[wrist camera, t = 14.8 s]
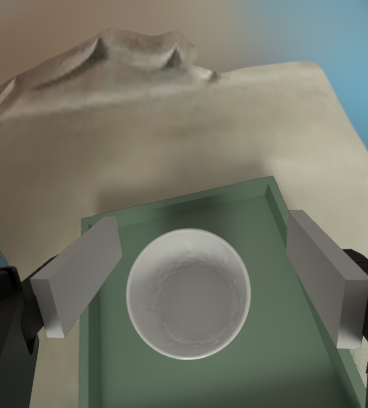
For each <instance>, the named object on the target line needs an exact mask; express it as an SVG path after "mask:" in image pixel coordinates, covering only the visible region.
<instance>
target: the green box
mask: <svg viewBox="0 0 368 408" xmlns="http://www.w3.org/2000/svg"><path fill="white" fill-rule="evenodd" d="M111 216H116V221H117V227H118V232H119V238H120V244H121V250H122V257H121V259H120V260H119V262H118V263H117V264H116V266H115V267H114V269H113V270H112V272H111V273H110V274H109V276H108V277H107V279H106V280H105V282H104V283H103V284H102V286H101V287H100V289H99V290H98V291H97V293H96V294H95V296H94V297H93V299H92V300H91V301H90V303H89V304H88V306H87V307H86V309H85V310H84V311H83V313H82V314H81V316H80V346H79V408H365V403H366V388H365V386H364V384H363V381H362V379H361V377H360V374H359V372H358V370H357V367H356V365H355V363H354V361H353V358H352V356H351V354H350V351H349V349H344V348H336V346H335V344H334V342H333V340H332V339H331V337H330V335H329V333H328V331H327V329H326V327H325V326H324V324H323V322H322V320H321V318H320V316H319V314H318V312H317V311H316V309H315V307H314V305H313V303H312V301H311V299H310V298H309V296H308V294H307V292H306V290H305V288H304V286H303V284H302V283H301V281H300V279H299V277H298V275H297V273H296V271H295V270H294V268H293V266H292V264H291V262H290V260H289V258H288V257H287V255H286V246H287V224H288V209H287V206H286V204H285V202H284V200H283V197H282V195H281V193H280V190H279V188H278V186H277V183H276V181H275V179H274V177H273V175H272V176H268V177H264V178H259V179H255V180H250V181H246V182H241V183H237V184H233V185H228V186H224V187H219V188H215V189H210V190H206V191H202V192H197V193H193V194H188V195H184V196H180V197H175V198H171V199H166V200H162V201H157V202H153V203H149V204H144V205H140V206H135V207H131V208H126V209H122V210H118V211H113V212H109V213H104V214H100V215H96V216H91V217H87V218H82V220H81V236H82V235H83V234H84V233H85V232H86V231H88V230H89V229H90V228H91V227H92V226H94V225H95V224H96V223H97V222H98V221H100V220H101V219H102V218H103V217H111ZM185 228H193V229H201V230H205V231H208V232H211V233H213V234H215V235H217V236H219V237H221V238H222V239H224V240H225V241H226V242H228V243H229V244H230V245H231V246H232V247H233V248H234V249H235V250H236V252H237V253H238V254H239V256H240V257H241V259H242V261H243V262H244V264H245V267H246V269H247V272H248V275H249V280H250V286H251V300H250V307H249V311H248V315H247V317H246V320H245V322H244V324H243V326H242V328H241V330H240V331H239V333H238V334H237V335H236V337H235V338H234V339H233V340H232V341H231V342H230V343H229V344H228V345H227V346H225V347H224V348H223V349H221V350H220V351H218V352H216V353H214V354H212V355H210V356H207V357H204V358H200V359H193V360H182V359H175V358H171V357H168V356H166V355H163V354H161V353H159V352H157V351H156V350H154V349H153V348H152V347H150V346H149V345H148V344H147V343H146V342H145V341H144V340H143V339H142V338H141V337H140V335H139V334H138V333H137V331H136V330H135V328H134V326H133V324H132V322H131V319H130V316H129V313H128V309H127V303H126V287H127V281H128V277H129V273H130V270H131V268H132V266H133V264H134V262H135V260H136V258H137V257H138V255H139V254H140V253H141V251H142V250H143V249H144V248H145V247H146V246H147V245H148V244H149V243H150V242H152V241H153V240H154V239H156V238H157V237H159V236H161V235H163V234H165V233H167V232H170V231H173V230H178V229H185Z"/></svg>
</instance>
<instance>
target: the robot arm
mask: <svg viewBox="0 0 368 408" xmlns="http://www.w3.org/2000/svg"><path fill="white" fill-rule="evenodd" d="M286 255H287V257H288V258H289V260H290V262H291V264H292V266H293V268H294V270H295V271H296V273H297V275H298V277H299V279H300V281H301V283H302V284H303V286H304V288H305V290H306V292H307V294H308V296H309V298H310V299H311V301H312V303H313V305H314V307H315V309H316V311H317V312H318V314H319V316H320V318H321V320H322V322H323V324H324V326H325V327H326V329H327V331H328V333H329V335H330V337H331V339H332V340H333V342H334V344H335V346H336V348H344V349H361V344H362V338H363V335H364V337H365V338H366V340H367V341H368V259H367V258H366V257H365V256H364V255H362V254H360V253H358V252H356V251H354V250H352V249H341V248H340V247H339V246H338V245H337V244H336V243H335V242H334V241H333V240H332V239H331V238H330V237H329V236H328V235H327V234H326V233H325V232H324V231H323V230H322V229H321V228H320V227H319V226H318V225H317V224H316V223H315V222H314V221H313V220H312V219H311V218H310V217H309V216H308V215H307V214H306V213H305V212H304V211H303V210H288V224H287V246H286ZM121 257H122V250H121V244H120V238H119V232H118V227H117V221H116V216H111V217H103V218H102V219H101V220H100V221H98V222H97V223H96V224H95V225H94V226H92V227H91V228H90V229H89V230H88V231H86V232H85V233H84V234H83V235H82V236H81V237H79V238H78V239H77V240H76V241H75V242H73V243H72V244H71V245H70V246H69V247H67V248H66V249H65V250H64V251H63V252H61V253H60V254H59V255H57V256H55V257H53V258H51V259H49V260H48V261H47V262H46V263H44V264H43V266H41V267H39V268H38V269H37V271H35V272H33V273H32V274H31V275H30V276H28V277H27V278H26V279H25V280H24V281H22V282H21V281H20V278H19V275H18V271H17V268H16V267H14V266H9V264H8V262H7V260H6V259H5V257H4V255H3V254H2V252H1V251H0V408H29V405H30V398H31V392H32V386H33V379H34V373H35V367H36V360H37V354H38V348H39V338H38V335H37V333H38V332H39V331H40V329H41V328H42V327H43V326H44V328H45V331H46V335H47V337H49V338H65V337H66V336H67V334H68V333H69V331H70V330H71V328H72V327H73V326H74V324H75V323H76V321H77V320H78V318H79V317H80V316H81V314H82V313H83V311H84V310H85V309H86V307H87V306H88V304H89V303H90V301H91V300H92V299H93V297H94V296H95V294H96V293H97V291H98V290H99V289H100V287H101V286H102V284H103V283H104V282H105V280H106V279H107V277H108V276H109V274H110V273H111V272H112V270H113V269H114V267H115V266H116V264H117V263H118V262H119V260H120V259H121ZM366 373H367V374H368V363H367V369H366ZM365 408H368V375H367V389H366V403H365Z"/></svg>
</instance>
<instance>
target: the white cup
mask: <svg viewBox="0 0 368 408" xmlns="http://www.w3.org/2000/svg"><path fill="white" fill-rule="evenodd" d="M250 300H251V286H250V280H249V275H248V272H247V269H246V267H245V264H244V262H243V261H242V259H241V257H240V256H239V254H238V253H237V252H236V250H235V249H234V248H233V247H232V246H231V245H230V244H229V243H228V242H226V241H225V240H224V239H222V238H221V237H219V236H217V235H215V234H213V233H211V232H208V231H205V230H201V229H193V228H185V229H178V230H173V231H170V232H167V233H165V234H163V235H161V236H159V237H157V238H156V239H154V240H153V241H152V242H150V243H149V244H148V245H147V246H146V247H145V248H144V249H143V250H142V251H141V253H140V254H139V255H138V257H137V258H136V260H135V262H134V264H133V266H132V268H131V270H130V273H129V277H128V281H127V287H126V303H127V309H128V313H129V316H130V319H131V322H132V324H133V326H134V328H135V330H136V331H137V333H138V334H139V335H140V337H141V338H142V339H143V340H144V341H145V342H146V343H147V344H148V345H149V346H150V347H152V348H153V349H154V350H156V351H157V352H159V353H161V354H163V355H166V356H168V357H171V358H175V359H182V360H193V359H200V358H204V357H207V356H210V355H212V354H214V353H216V352H218V351H220V350H221V349H223V348H224V347H225V346H227V345H228V344H229V343H230V342H231V341H232V340H233V339H234V338H235V337H236V335H237V334H238V333H239V331H240V330H241V328H242V326H243V324H244V322H245V320H246V317H247V315H248V311H249V307H250Z"/></svg>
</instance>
